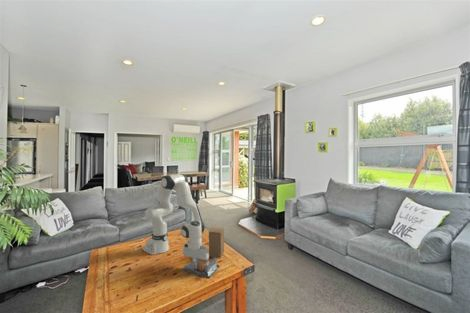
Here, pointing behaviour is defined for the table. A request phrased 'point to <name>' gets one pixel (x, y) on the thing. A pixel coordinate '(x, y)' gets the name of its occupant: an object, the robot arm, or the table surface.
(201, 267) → the rust block
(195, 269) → the sliding jaw
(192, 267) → the vise base
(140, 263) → the table surface
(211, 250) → the wooden block
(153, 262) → the table surface
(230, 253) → the table surface
